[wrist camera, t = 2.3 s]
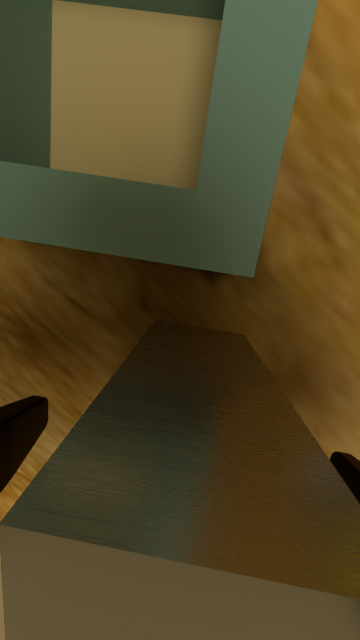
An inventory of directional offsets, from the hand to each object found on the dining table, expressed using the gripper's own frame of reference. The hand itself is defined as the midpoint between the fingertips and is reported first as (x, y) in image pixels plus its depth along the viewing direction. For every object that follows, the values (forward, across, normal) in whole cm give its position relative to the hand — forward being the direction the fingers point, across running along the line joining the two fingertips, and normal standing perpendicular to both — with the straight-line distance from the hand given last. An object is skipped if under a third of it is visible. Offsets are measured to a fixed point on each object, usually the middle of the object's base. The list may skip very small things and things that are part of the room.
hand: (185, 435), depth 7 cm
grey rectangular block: (+5, 0, 0) cm, 5 cm away
